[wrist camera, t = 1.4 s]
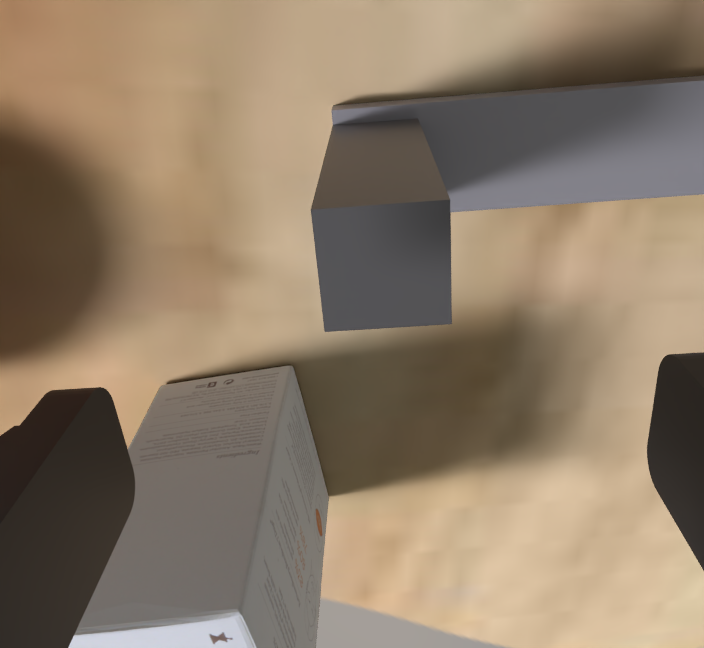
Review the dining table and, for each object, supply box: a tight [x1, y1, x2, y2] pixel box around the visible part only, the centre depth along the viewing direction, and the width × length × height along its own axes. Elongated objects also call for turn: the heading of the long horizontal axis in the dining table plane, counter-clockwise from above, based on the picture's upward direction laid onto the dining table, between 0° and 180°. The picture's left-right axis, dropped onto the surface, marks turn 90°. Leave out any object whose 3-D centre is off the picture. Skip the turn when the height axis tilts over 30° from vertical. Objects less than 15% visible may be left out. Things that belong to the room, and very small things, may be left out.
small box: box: [68, 366, 329, 648], centre depth 25 cm, size 8×6×13 cm
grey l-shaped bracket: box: [311, 75, 704, 332], centre depth 19 cm, size 4×18×11 cm, turn 95°
